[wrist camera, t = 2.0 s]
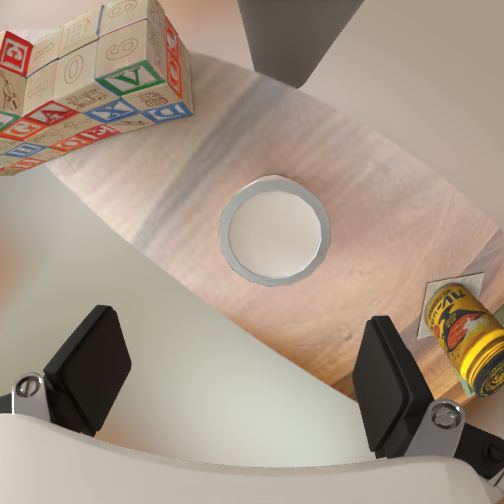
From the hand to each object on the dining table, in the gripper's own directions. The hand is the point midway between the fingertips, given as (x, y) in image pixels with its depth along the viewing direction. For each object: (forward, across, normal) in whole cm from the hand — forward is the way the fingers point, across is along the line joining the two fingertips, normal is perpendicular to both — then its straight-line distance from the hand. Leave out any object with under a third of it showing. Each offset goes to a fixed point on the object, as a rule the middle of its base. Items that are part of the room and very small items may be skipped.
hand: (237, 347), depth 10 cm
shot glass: (+16, -1, -1) cm, 16 cm away
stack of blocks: (+15, +16, -10) cm, 24 cm away
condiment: (+16, -22, +8) cm, 28 cm away
